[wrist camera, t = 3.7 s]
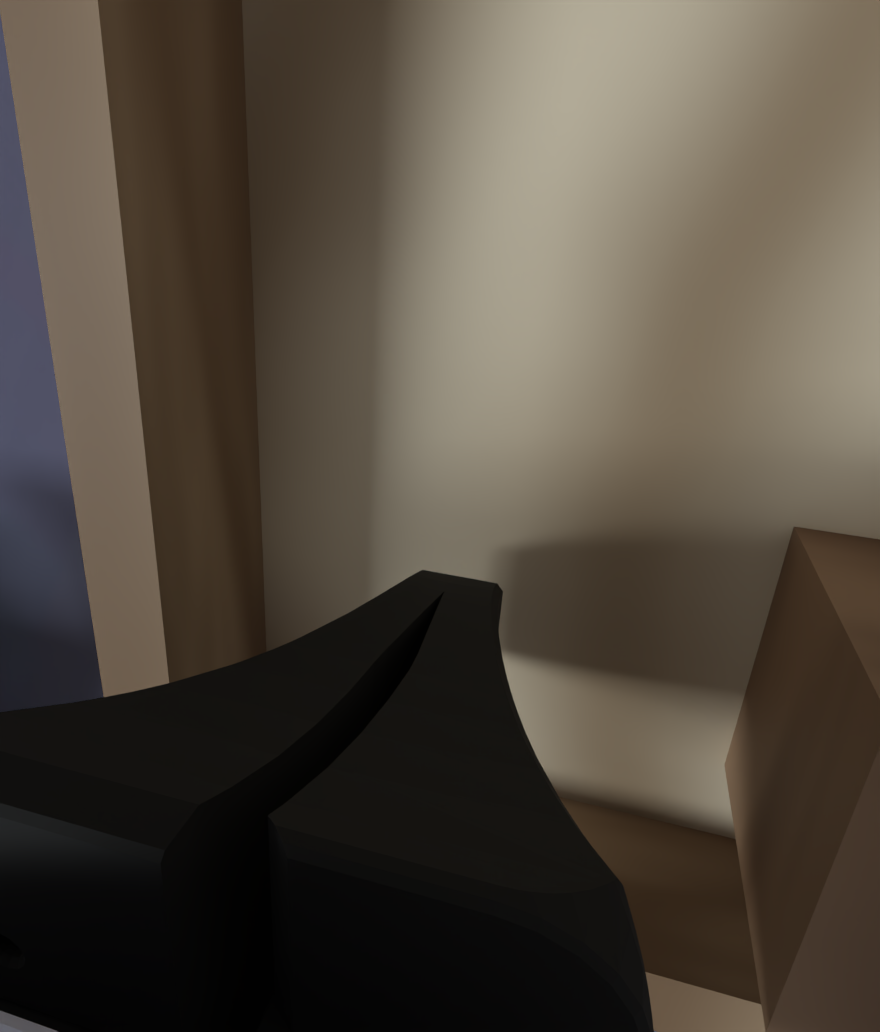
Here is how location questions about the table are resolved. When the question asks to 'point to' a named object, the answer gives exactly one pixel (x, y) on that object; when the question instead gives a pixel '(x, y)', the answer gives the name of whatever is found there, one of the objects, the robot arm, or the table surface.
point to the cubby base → (474, 360)
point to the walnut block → (814, 789)
